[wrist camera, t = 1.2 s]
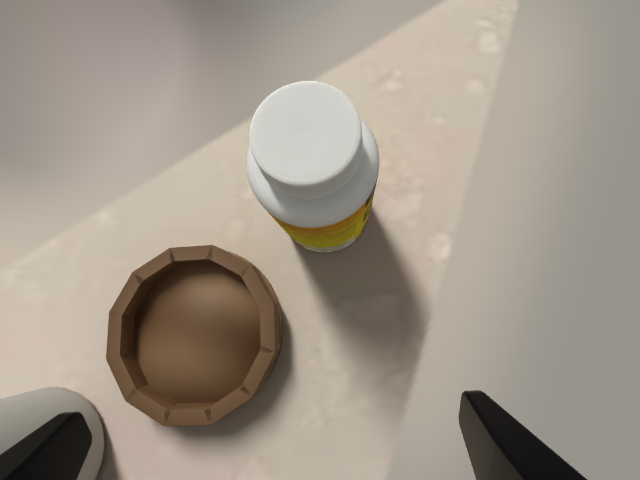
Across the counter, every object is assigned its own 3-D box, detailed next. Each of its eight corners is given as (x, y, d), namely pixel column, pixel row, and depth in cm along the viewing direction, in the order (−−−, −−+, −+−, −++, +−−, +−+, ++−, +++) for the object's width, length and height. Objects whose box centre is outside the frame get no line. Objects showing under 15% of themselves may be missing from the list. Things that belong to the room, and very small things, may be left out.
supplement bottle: (375, 247, 21) (399, 197, 11) (287, 259, 21) (230, 221, 11) (362, 163, 22) (373, 46, 12) (278, 176, 22) (219, 73, 12)
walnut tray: (285, 414, 19) (278, 425, 18) (121, 418, 20) (99, 429, 18) (280, 244, 21) (273, 239, 20) (130, 254, 22) (111, 250, 20)
